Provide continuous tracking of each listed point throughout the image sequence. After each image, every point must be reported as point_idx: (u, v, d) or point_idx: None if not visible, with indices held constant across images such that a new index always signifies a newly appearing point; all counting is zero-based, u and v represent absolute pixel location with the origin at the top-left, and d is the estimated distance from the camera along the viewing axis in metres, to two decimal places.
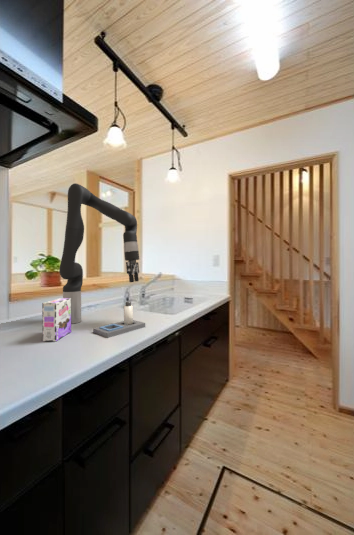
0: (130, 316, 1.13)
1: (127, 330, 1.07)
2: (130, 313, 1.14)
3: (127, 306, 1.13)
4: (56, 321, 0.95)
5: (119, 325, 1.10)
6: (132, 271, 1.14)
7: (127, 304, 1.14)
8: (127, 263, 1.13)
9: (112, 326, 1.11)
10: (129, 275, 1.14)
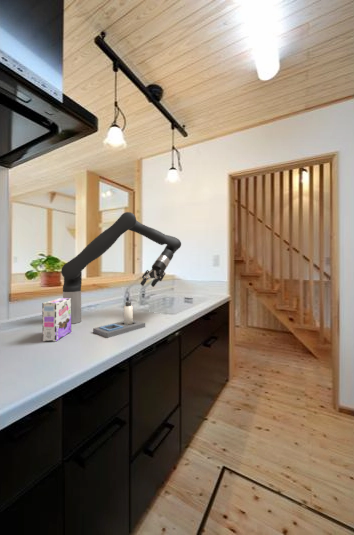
0: (130, 316, 1.13)
1: (127, 330, 1.07)
2: (130, 313, 1.14)
3: (127, 306, 1.13)
4: (56, 321, 0.95)
5: (119, 325, 1.10)
6: None
7: (127, 304, 1.14)
8: (163, 272, 1.25)
9: (112, 326, 1.11)
10: (156, 280, 1.23)
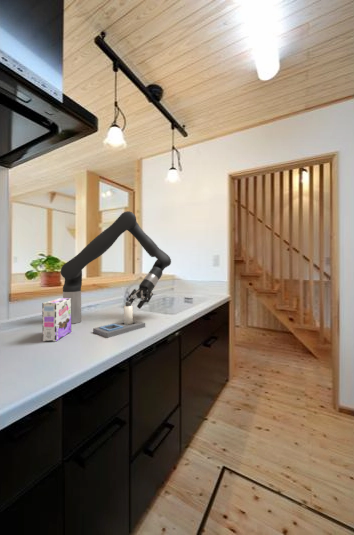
0: (130, 316, 1.13)
1: (127, 330, 1.07)
2: (130, 313, 1.14)
3: (127, 306, 1.13)
4: (56, 321, 0.95)
5: (119, 325, 1.10)
6: None
7: (127, 304, 1.14)
8: (151, 292, 1.18)
9: (112, 326, 1.11)
10: (142, 301, 1.16)
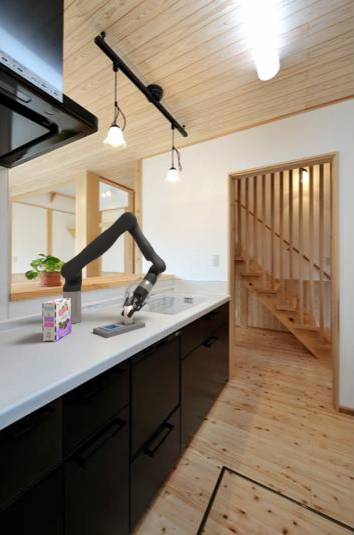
0: None
1: (127, 330, 1.07)
2: None
3: (127, 306, 1.13)
4: (56, 321, 0.95)
5: (119, 325, 1.10)
6: None
7: (127, 304, 1.14)
8: (143, 302, 1.14)
9: (112, 326, 1.11)
10: (133, 310, 1.13)
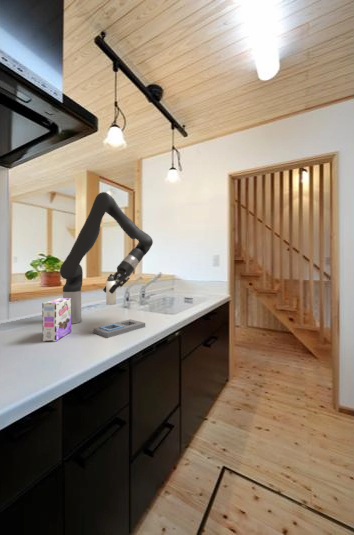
0: None
1: (127, 330, 1.07)
2: None
3: (109, 281, 1.05)
4: (56, 321, 0.95)
5: (119, 325, 1.10)
6: None
7: (109, 279, 1.06)
8: (126, 277, 1.06)
9: (112, 326, 1.11)
10: (115, 285, 1.05)
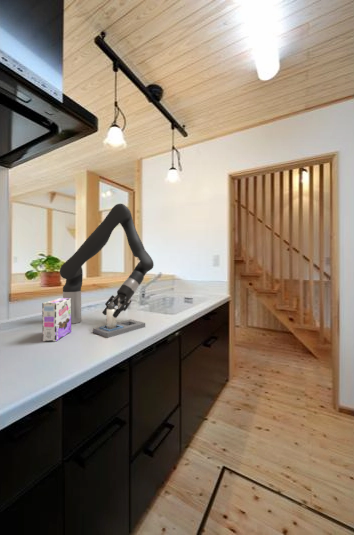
0: (113, 319, 1.06)
1: (127, 330, 1.07)
2: (113, 317, 1.06)
3: (110, 309, 1.06)
4: (56, 321, 0.95)
5: (119, 325, 1.10)
6: None
7: (110, 307, 1.06)
8: (128, 300, 1.07)
9: None
10: (119, 310, 1.05)
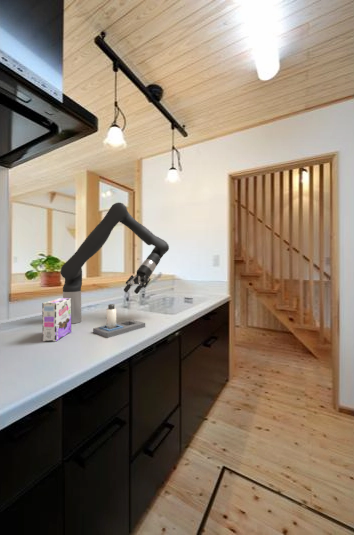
0: (113, 319, 1.06)
1: (127, 330, 1.07)
2: (113, 317, 1.06)
3: (110, 309, 1.06)
4: (56, 321, 0.95)
5: (119, 325, 1.10)
6: None
7: (110, 307, 1.06)
8: (148, 278, 1.16)
9: None
10: (140, 286, 1.14)
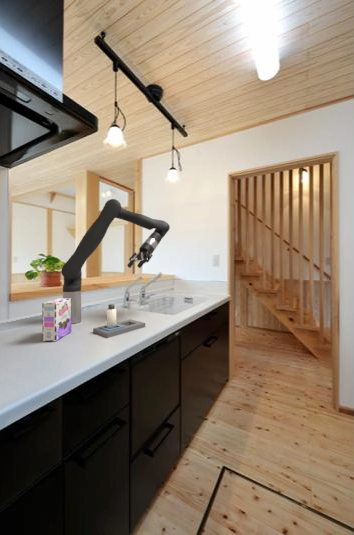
0: (113, 319, 1.06)
1: (127, 330, 1.07)
2: (113, 317, 1.06)
3: (110, 309, 1.06)
4: (56, 321, 0.95)
5: (119, 325, 1.10)
6: None
7: (110, 307, 1.06)
8: (150, 253, 1.24)
9: None
10: (142, 261, 1.22)
